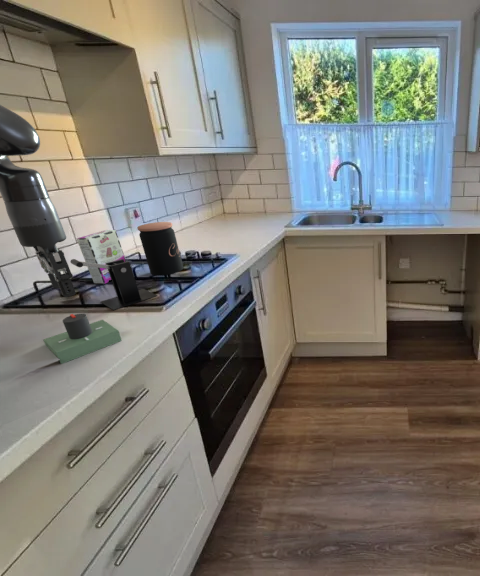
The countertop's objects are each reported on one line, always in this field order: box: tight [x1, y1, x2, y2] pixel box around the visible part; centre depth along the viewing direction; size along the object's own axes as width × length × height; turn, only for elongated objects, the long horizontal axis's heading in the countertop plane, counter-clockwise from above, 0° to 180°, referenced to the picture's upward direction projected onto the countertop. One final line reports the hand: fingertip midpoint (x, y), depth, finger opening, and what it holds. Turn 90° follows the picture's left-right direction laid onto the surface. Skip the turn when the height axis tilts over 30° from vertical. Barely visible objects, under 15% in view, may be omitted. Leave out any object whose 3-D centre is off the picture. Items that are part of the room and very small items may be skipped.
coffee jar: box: [136, 221, 184, 277], centre depth 130 cm, size 11×11×18 cm
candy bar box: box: [76, 229, 127, 285], centre depth 127 cm, size 11×5×16 cm, turn 170°
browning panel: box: [42, 319, 122, 365], centre depth 87 cm, size 12×10×3 cm
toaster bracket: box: [100, 259, 158, 311], centre depth 108 cm, size 12×10×13 cm
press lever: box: [69, 258, 118, 271], centre depth 102 cm, size 12×5×2 cm, turn 144°
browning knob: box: [62, 313, 93, 339], centre depth 85 cm, size 4×4×5 cm
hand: (64, 291), depth 82 cm, fingers open, 8 cm apart
